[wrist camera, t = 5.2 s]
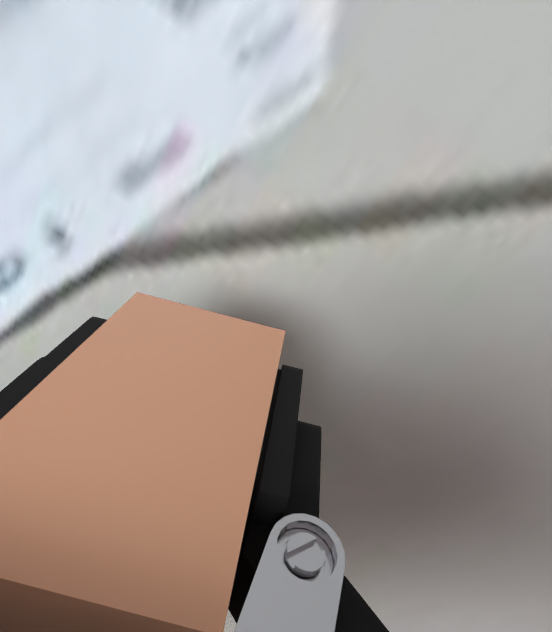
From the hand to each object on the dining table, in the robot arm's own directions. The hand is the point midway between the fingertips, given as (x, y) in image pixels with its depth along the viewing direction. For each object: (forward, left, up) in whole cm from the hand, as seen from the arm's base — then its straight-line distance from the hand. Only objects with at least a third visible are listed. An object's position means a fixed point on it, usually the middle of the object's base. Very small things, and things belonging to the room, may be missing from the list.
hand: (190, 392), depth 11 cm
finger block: (0, 0, -1) cm, 1 cm away
